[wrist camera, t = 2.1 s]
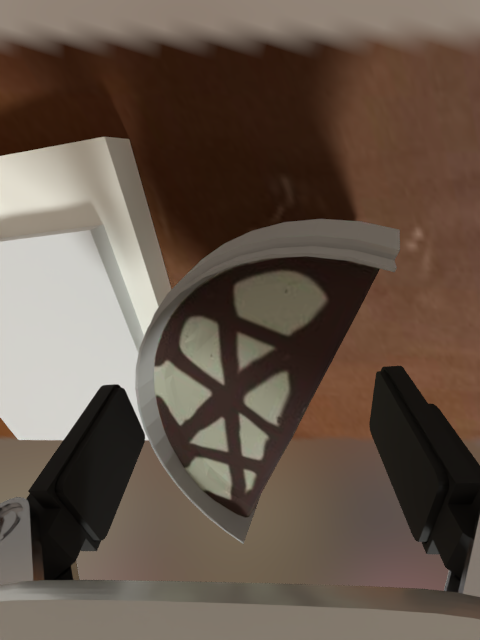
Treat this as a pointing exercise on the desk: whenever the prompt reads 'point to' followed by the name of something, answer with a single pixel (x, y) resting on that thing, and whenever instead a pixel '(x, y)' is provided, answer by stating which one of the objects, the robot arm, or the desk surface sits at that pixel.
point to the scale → (72, 281)
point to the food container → (250, 354)
